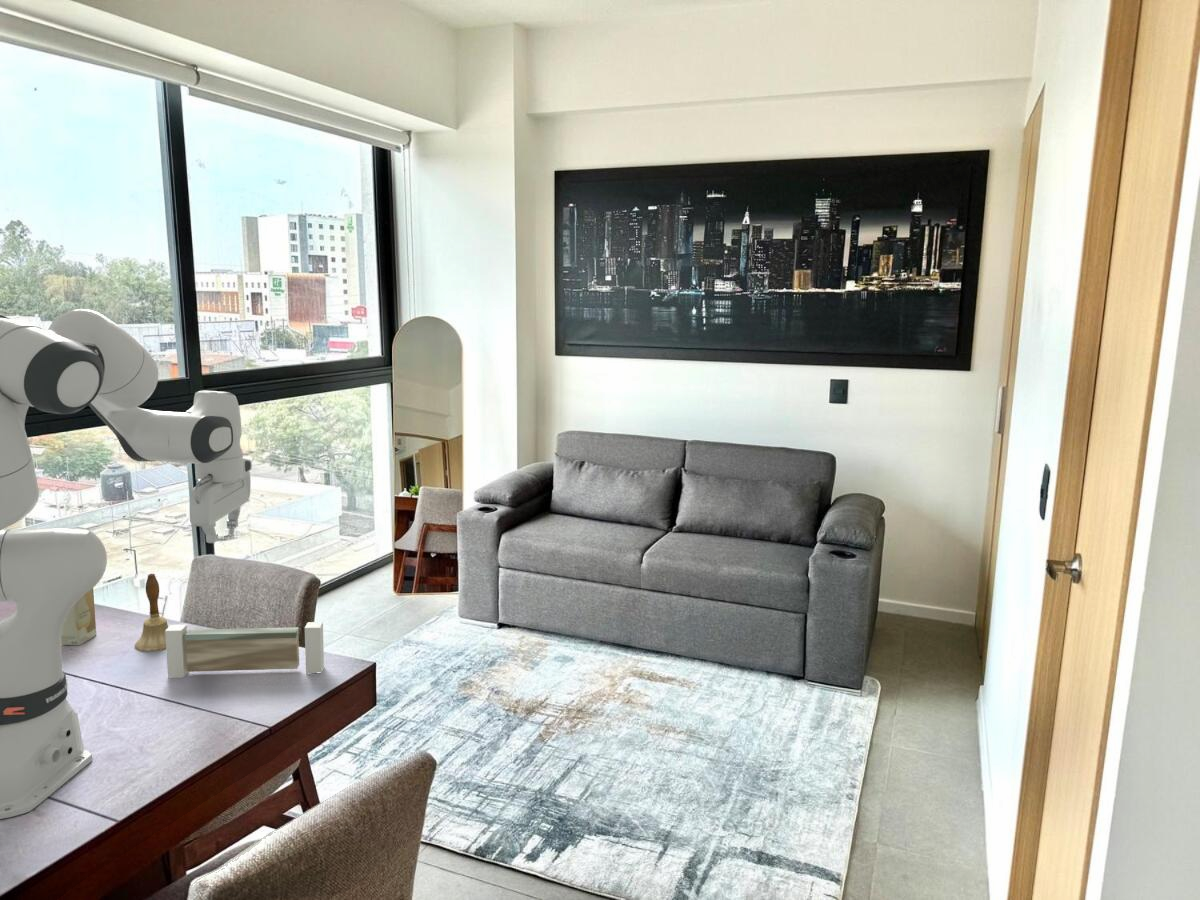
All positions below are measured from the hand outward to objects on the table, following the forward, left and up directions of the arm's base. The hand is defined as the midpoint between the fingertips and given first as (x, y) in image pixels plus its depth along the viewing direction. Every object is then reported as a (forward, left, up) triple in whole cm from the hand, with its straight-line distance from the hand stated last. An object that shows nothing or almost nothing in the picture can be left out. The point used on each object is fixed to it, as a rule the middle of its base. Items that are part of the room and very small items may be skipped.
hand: (222, 534), depth 169 cm
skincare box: (+12, +35, -27) cm, 46 cm away
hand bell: (+9, +18, -27) cm, 34 cm away
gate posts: (-7, -5, -27) cm, 29 cm away
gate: (-7, -5, -26) cm, 27 cm away
